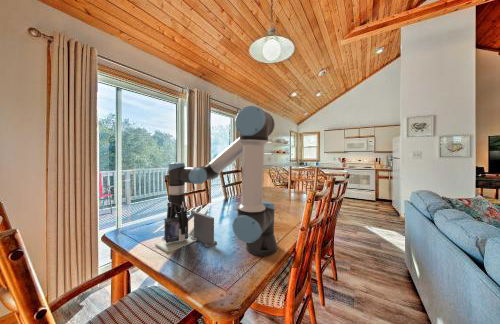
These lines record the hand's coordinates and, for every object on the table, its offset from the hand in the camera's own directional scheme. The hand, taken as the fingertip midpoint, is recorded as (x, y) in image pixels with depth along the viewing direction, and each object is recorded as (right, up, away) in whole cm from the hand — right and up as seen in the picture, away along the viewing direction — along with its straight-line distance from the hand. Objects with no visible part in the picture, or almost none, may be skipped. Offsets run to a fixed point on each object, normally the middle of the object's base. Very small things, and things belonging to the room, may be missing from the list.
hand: (177, 237), depth 99 cm
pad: (0, -3, 0) cm, 3 cm away
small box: (0, -1, 0) cm, 1 cm away
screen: (+13, -3, +2) cm, 13 cm away
